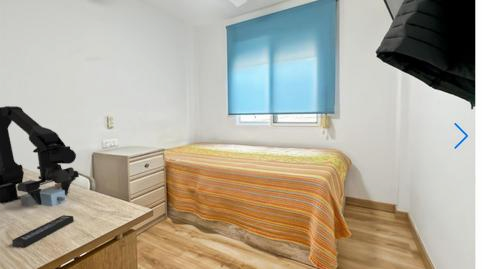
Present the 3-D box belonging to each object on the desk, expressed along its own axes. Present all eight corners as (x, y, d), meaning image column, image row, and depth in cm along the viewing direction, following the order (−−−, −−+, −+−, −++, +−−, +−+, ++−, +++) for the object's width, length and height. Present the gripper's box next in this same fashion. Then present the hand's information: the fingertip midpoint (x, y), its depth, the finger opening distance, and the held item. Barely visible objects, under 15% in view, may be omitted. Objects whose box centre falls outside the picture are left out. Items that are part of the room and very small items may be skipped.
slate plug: (37, 204, 87) (35, 192, 86) (51, 199, 92) (49, 188, 91) (57, 207, 83) (56, 195, 83) (71, 202, 88) (69, 190, 88)
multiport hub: (12, 247, 59) (11, 240, 59) (63, 221, 73) (63, 215, 73) (24, 249, 58) (23, 241, 58) (74, 222, 73) (73, 215, 72)
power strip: (21, 205, 86) (19, 193, 85) (62, 191, 100) (60, 181, 100) (28, 206, 85) (27, 194, 84) (68, 192, 99) (67, 182, 98)
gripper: (34, 170, 75) (39, 212, 76) (86, 158, 92) (89, 193, 94) (13, 168, 78) (19, 209, 80) (67, 157, 96) (71, 191, 97)
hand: (53, 200), depth 87 cm, fingers open, 9 cm apart
